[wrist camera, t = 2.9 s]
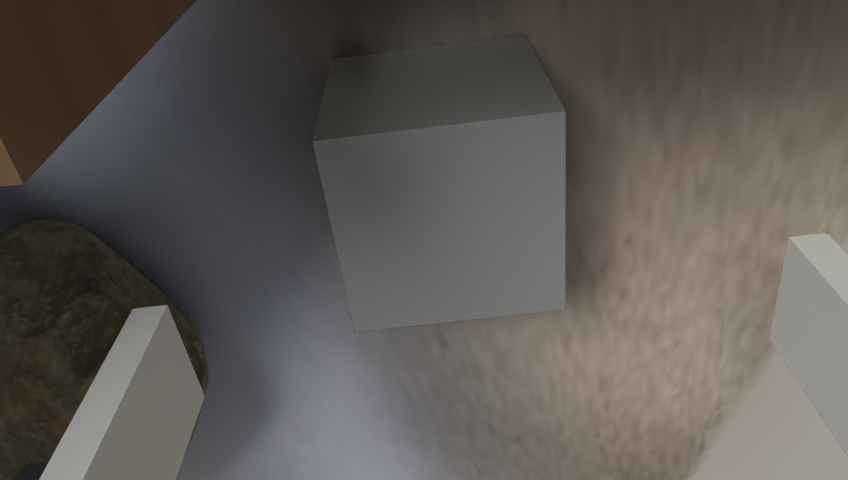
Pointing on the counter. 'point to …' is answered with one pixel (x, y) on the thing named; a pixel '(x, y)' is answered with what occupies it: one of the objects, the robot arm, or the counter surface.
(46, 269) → the stone
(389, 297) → the gray cube
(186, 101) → the counter surface
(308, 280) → the counter surface
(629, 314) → the counter surface
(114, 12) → the frame
